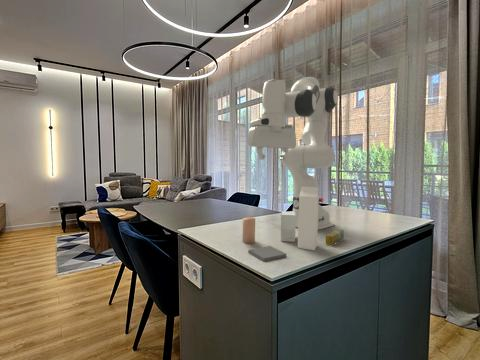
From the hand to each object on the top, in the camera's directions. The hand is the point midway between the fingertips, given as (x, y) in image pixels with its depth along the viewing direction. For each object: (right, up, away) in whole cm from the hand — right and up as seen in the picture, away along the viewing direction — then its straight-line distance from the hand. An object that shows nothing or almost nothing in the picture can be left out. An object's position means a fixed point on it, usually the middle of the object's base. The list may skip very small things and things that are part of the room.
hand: (272, 159), depth 100 cm
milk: (+12, -32, -4) cm, 35 cm away
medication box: (+25, -32, +3) cm, 41 cm away
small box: (+7, -32, +6) cm, 33 cm away
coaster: (-3, -33, -13) cm, 35 cm away
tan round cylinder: (-9, -32, +1) cm, 33 cm away
